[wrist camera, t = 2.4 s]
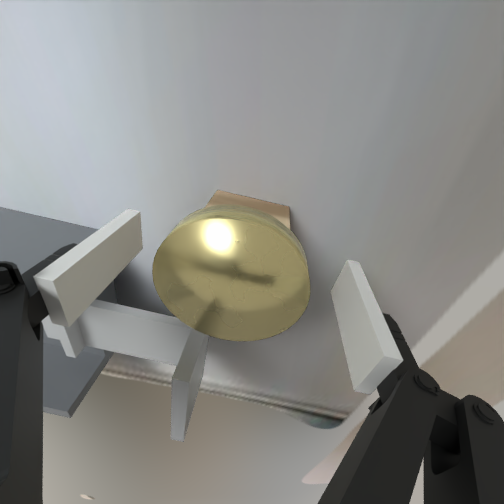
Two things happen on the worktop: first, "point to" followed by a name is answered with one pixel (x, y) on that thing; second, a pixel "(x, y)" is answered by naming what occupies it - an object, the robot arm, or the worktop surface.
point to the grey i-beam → (142, 347)
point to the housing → (54, 358)
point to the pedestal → (252, 205)
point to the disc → (233, 273)
